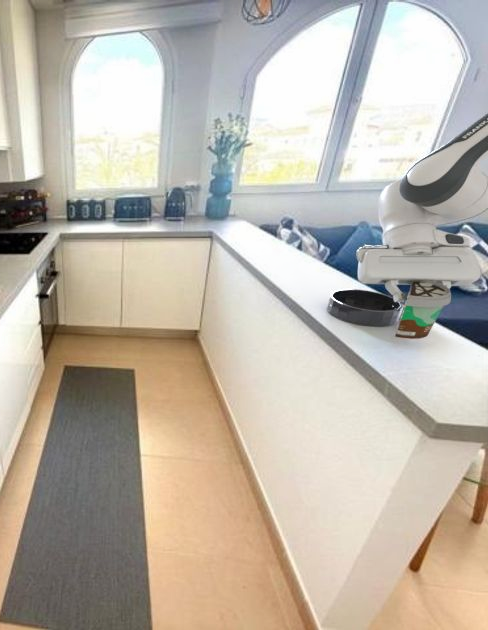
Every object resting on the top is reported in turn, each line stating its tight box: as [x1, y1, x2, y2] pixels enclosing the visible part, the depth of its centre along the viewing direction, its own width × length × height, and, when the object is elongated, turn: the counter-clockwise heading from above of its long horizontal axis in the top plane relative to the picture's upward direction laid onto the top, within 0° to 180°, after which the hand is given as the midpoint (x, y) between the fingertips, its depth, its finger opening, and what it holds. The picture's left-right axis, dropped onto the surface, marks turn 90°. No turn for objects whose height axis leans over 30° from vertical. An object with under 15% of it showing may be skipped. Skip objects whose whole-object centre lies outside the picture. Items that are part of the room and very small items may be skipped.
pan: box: [326, 288, 404, 328], centre depth 97 cm, size 16×16×4 cm
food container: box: [394, 280, 452, 340], centre depth 72 cm, size 12×6×10 cm, turn 136°
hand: (420, 302), depth 74 cm, fingers closed on food container, 5 cm apart
